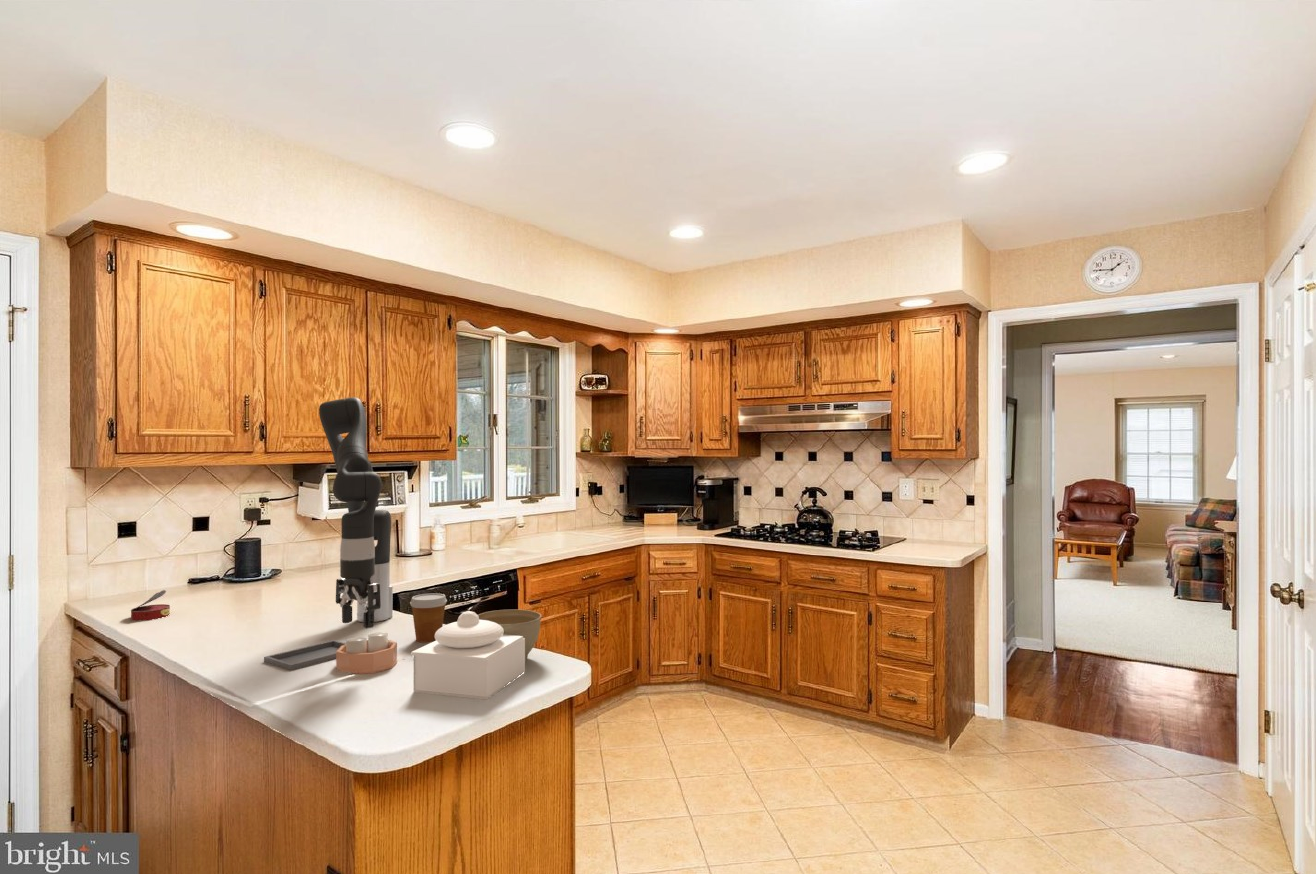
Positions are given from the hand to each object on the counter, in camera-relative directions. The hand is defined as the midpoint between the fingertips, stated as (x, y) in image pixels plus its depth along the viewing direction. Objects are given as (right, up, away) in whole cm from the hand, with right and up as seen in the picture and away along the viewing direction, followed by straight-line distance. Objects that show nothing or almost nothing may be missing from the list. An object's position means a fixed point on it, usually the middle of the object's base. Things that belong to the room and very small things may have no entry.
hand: (357, 625), depth 165 cm
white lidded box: (+29, -10, -11) cm, 33 cm away
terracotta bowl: (+1, -10, +2) cm, 10 cm away
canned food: (-88, -12, +53) cm, 103 cm away
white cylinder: (+3, -10, +4) cm, 11 cm away
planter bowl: (+34, -10, +5) cm, 36 cm away
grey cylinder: (0, -9, 0) cm, 9 cm away
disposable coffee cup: (+9, -11, +23) cm, 27 cm away
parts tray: (-14, -10, +7) cm, 19 cm away
